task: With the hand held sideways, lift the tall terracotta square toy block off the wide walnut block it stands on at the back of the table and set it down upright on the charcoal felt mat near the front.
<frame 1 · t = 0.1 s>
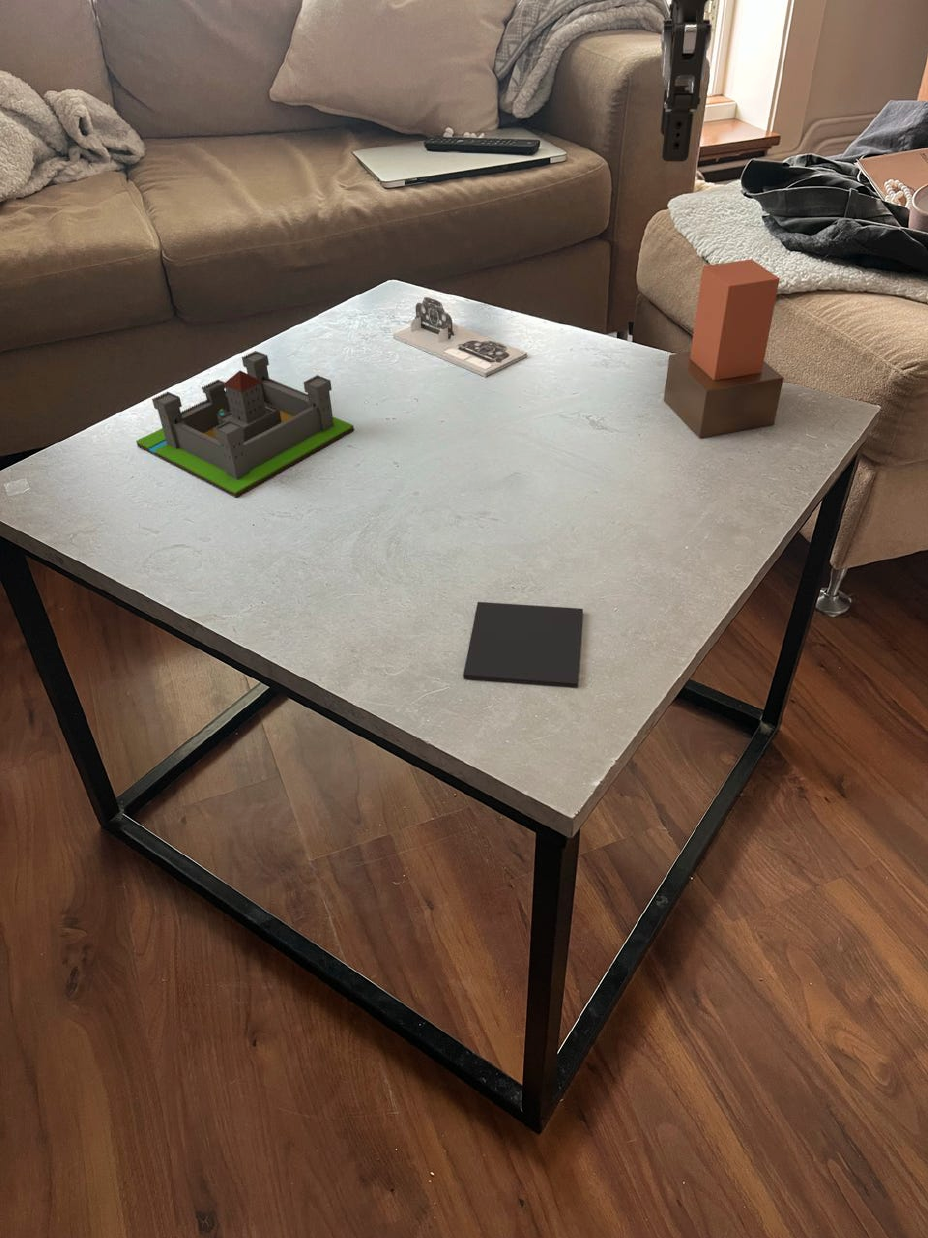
hand: (673, 146, 83), 23 cm above the table, tool pointing down, fingers open, 8 cm apart
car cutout: (458, 348, 105), on the table
top block: (725, 365, 89), point 5 cm above the table, touching base block
felt mat: (525, 644, 67), on the table
base block: (717, 412, 92), on the table, touching top block
castle model: (246, 440, 91), on the table
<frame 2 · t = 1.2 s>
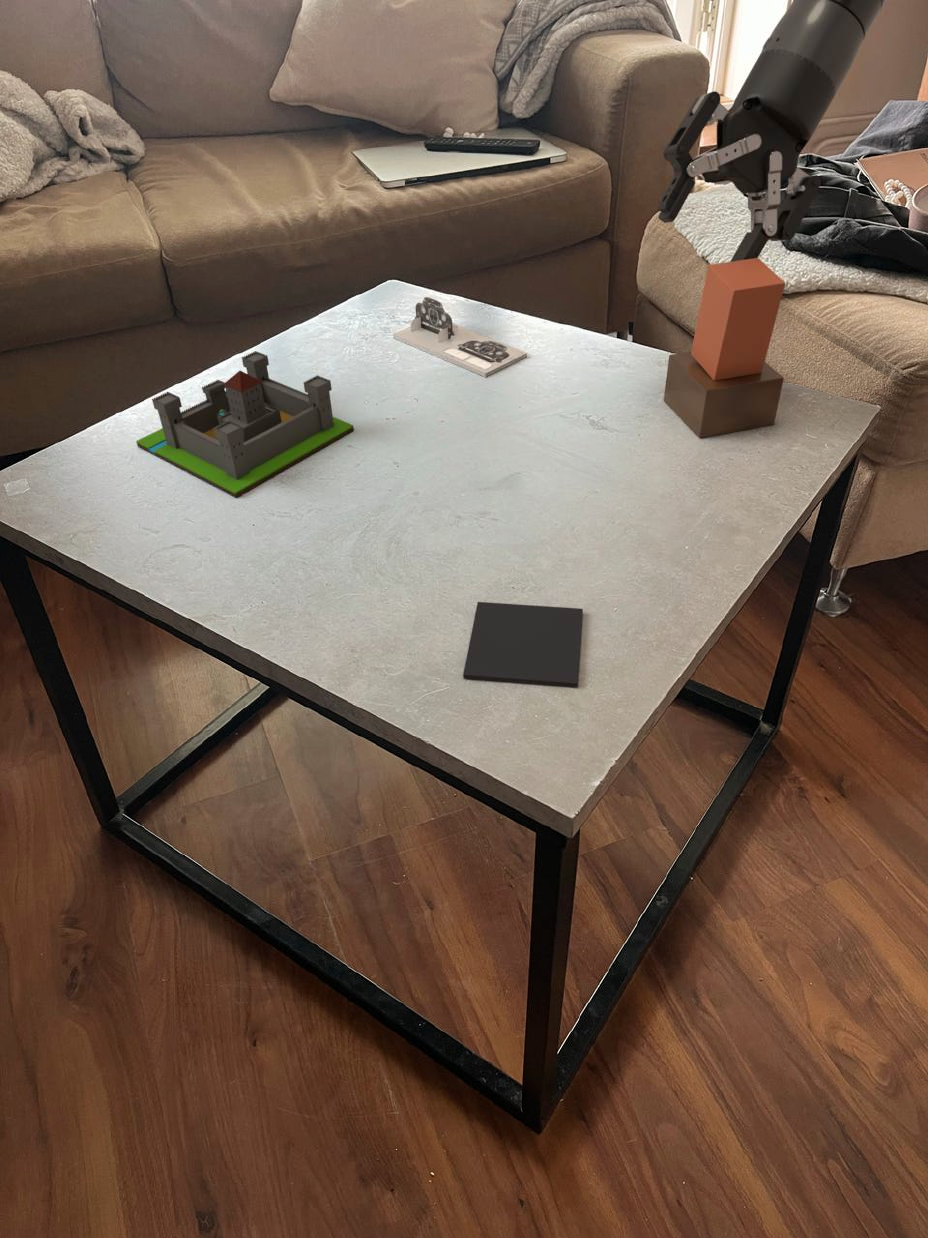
hand: (700, 246, 84), 15 cm above the table, tool tilted 40°, fingers open, 8 cm apart
top block: (725, 363, 89), point 5 cm above the table, tilted 6°, touching base block, gripper
everything else where it was.
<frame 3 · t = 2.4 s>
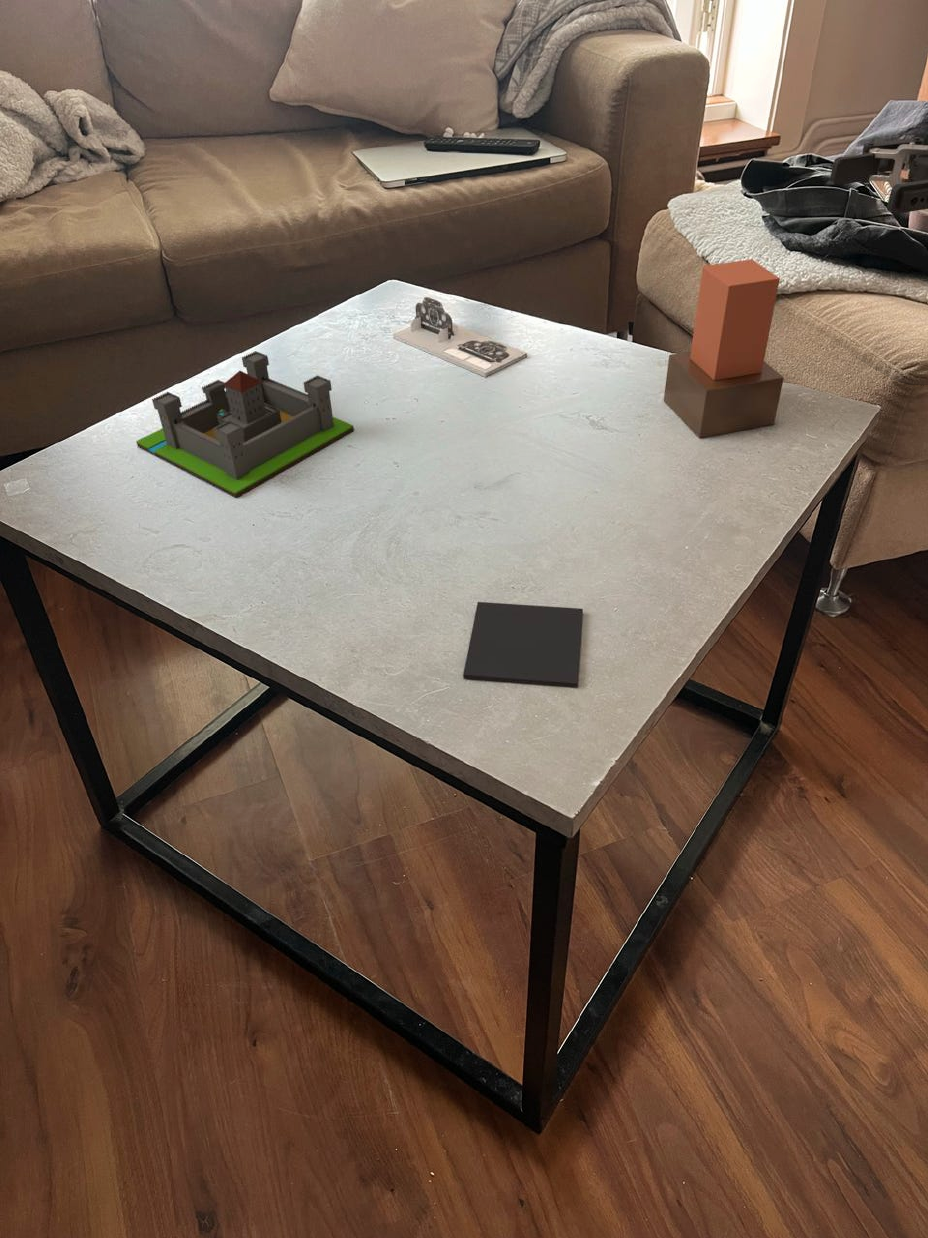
hand: (861, 185, 81), 20 cm above the table, tool horizontal, fingers open, 8 cm apart
top block: (725, 365, 89), point 5 cm above the table, touching base block
everything else where it was.
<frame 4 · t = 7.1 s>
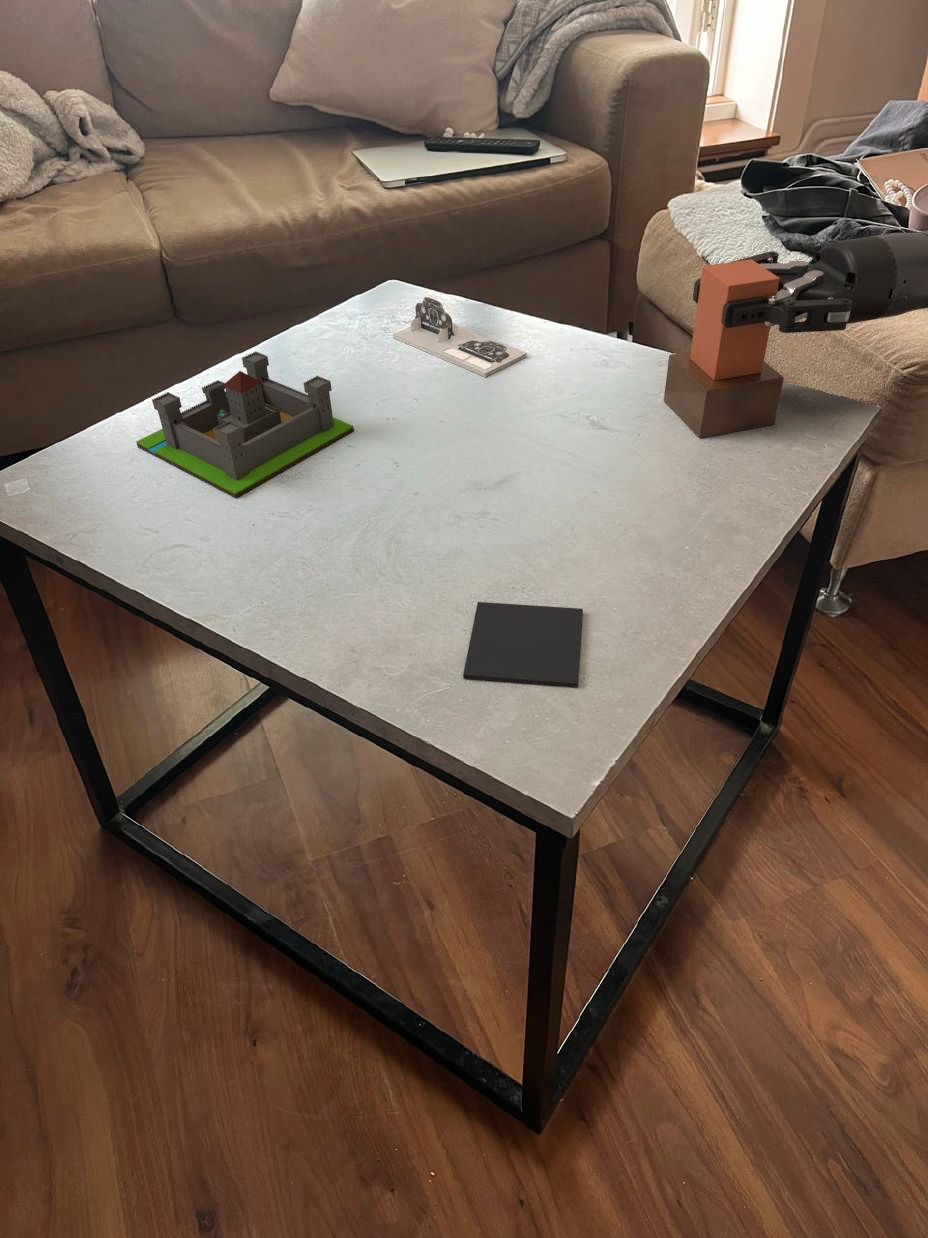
hand: (710, 303, 84), 11 cm above the table, tool horizontal, fingers closed on top block, 5 cm apart
top block: (725, 365, 89), point 5 cm above the table, touching base block, gripper
everything else where it was.
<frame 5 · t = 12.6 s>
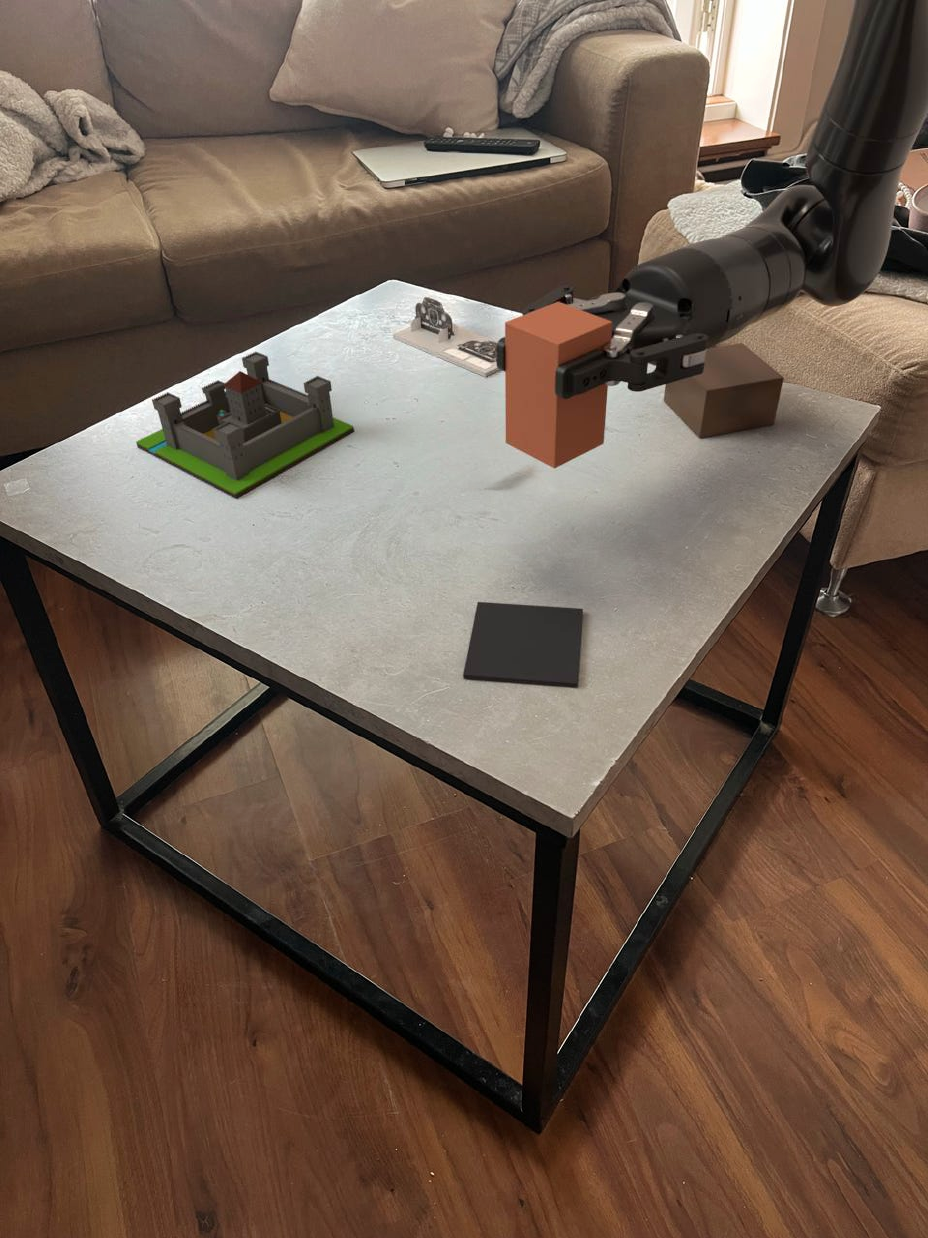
hand: (529, 369, 61), 18 cm above the table, tool horizontal, fingers closed on top block, 5 cm apart
top block: (554, 443, 66), point 12 cm above the table, touching gripper
base block: (717, 412, 92), on the table
everything else where it was.
when the fingers open (7 cm above the table, at t = 18.0 s): top block stays where it is, resting on felt mat.
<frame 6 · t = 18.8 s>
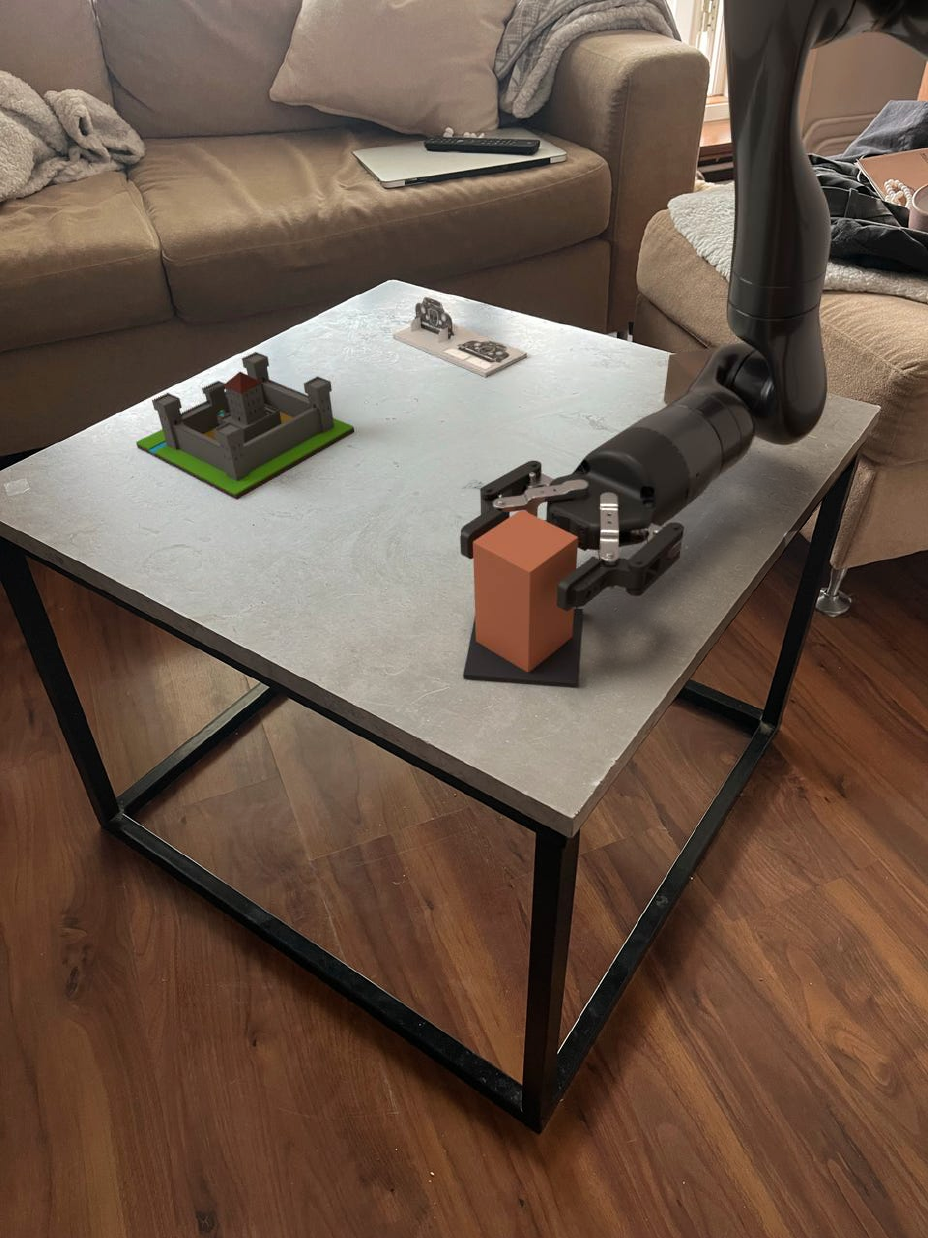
hand: (511, 572, 61), 8 cm above the table, tool horizontal, fingers open, 8 cm apart
top block: (524, 639, 67), resting on felt mat
everything else where it was.
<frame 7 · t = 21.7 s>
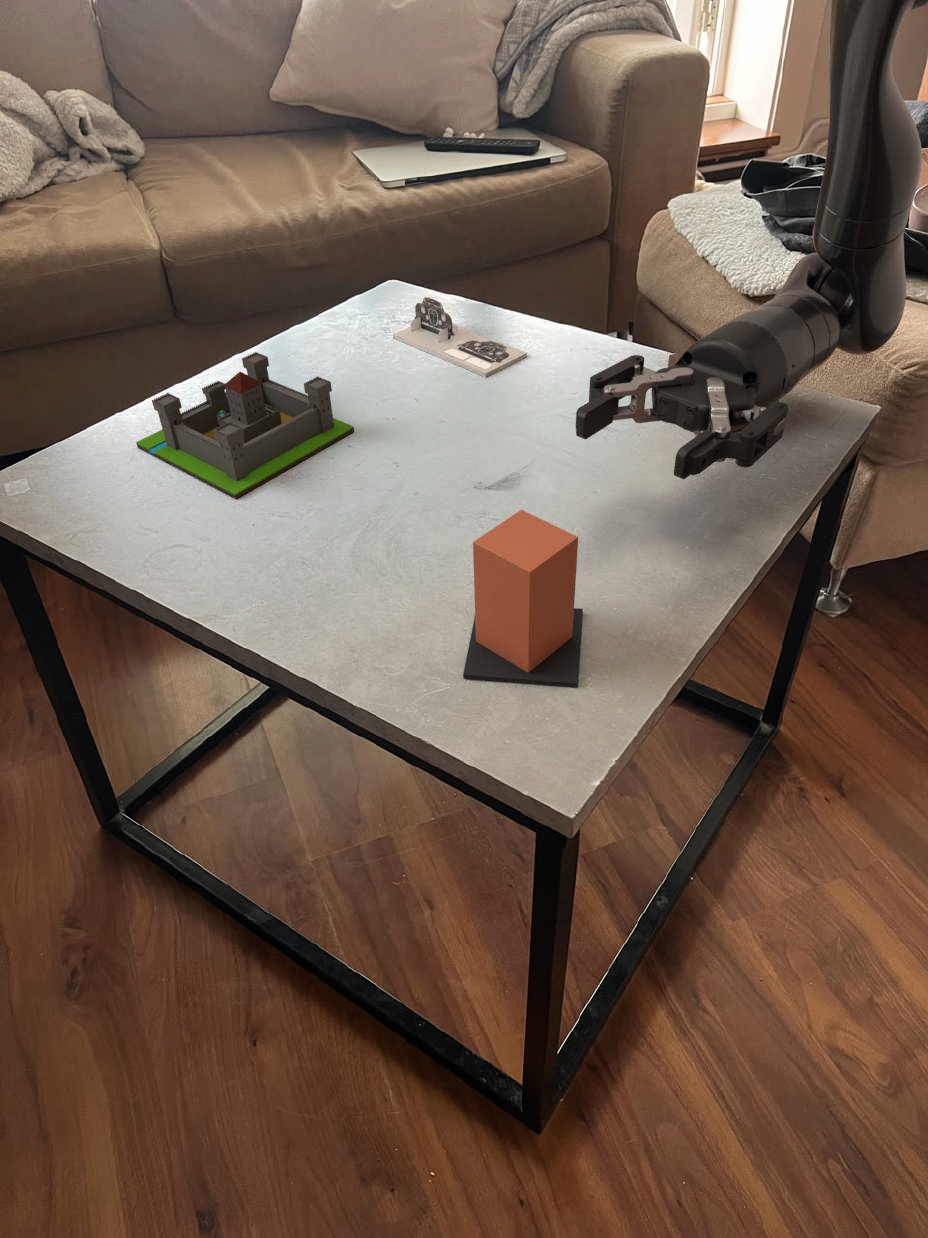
hand: (628, 445, 66), 12 cm above the table, tool horizontal, fingers open, 8 cm apart
nothing on the table moved.
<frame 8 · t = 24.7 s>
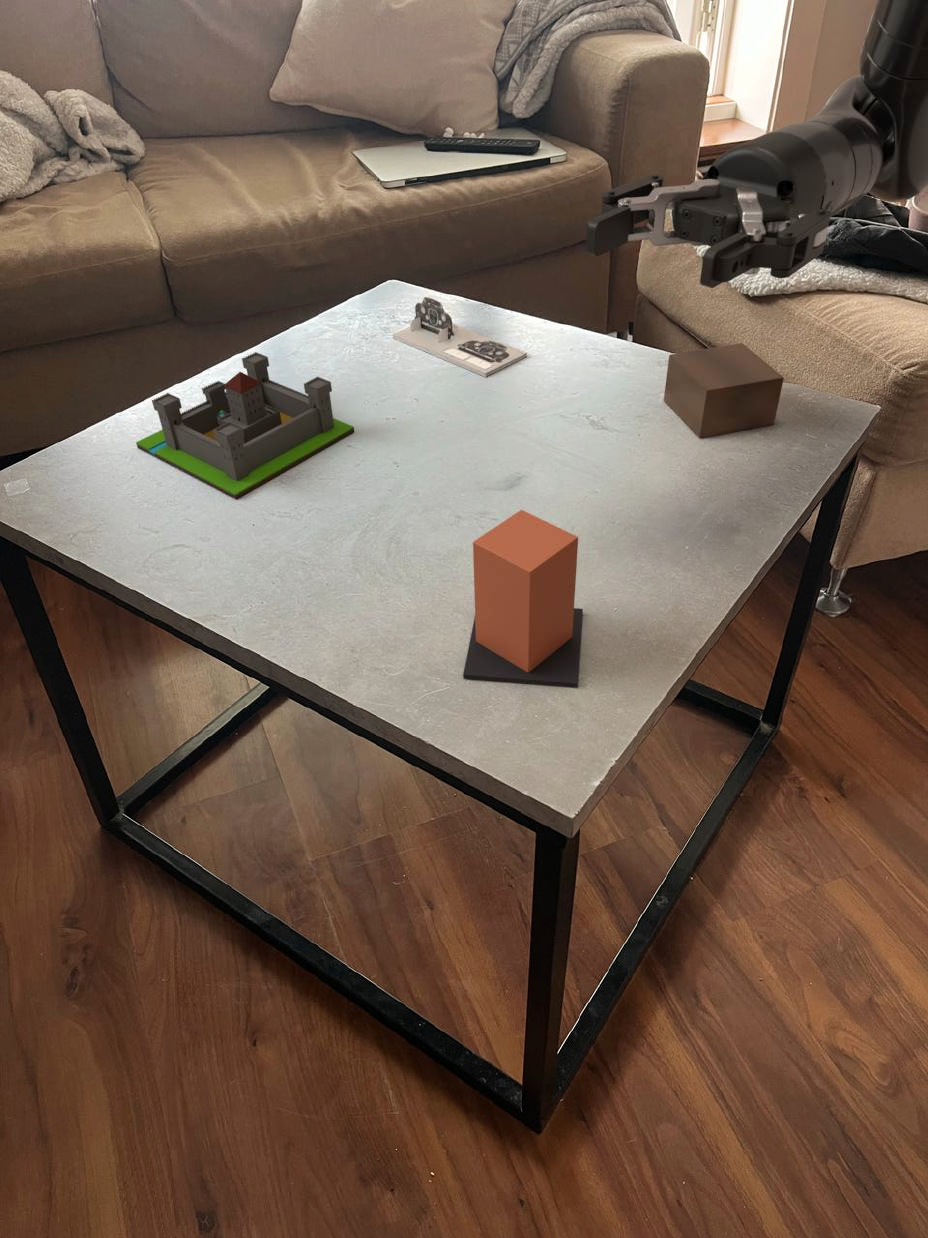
hand: (646, 254, 57), 25 cm above the table, tool horizontal, fingers open, 8 cm apart
nothing on the table moved.
at the end: top block inside the target area on the felt mat (0.1 cm from its centre), point 0.4 cm above the felt mat's base; top block tilted 0°; base block moved 0.0 cm from its start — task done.
